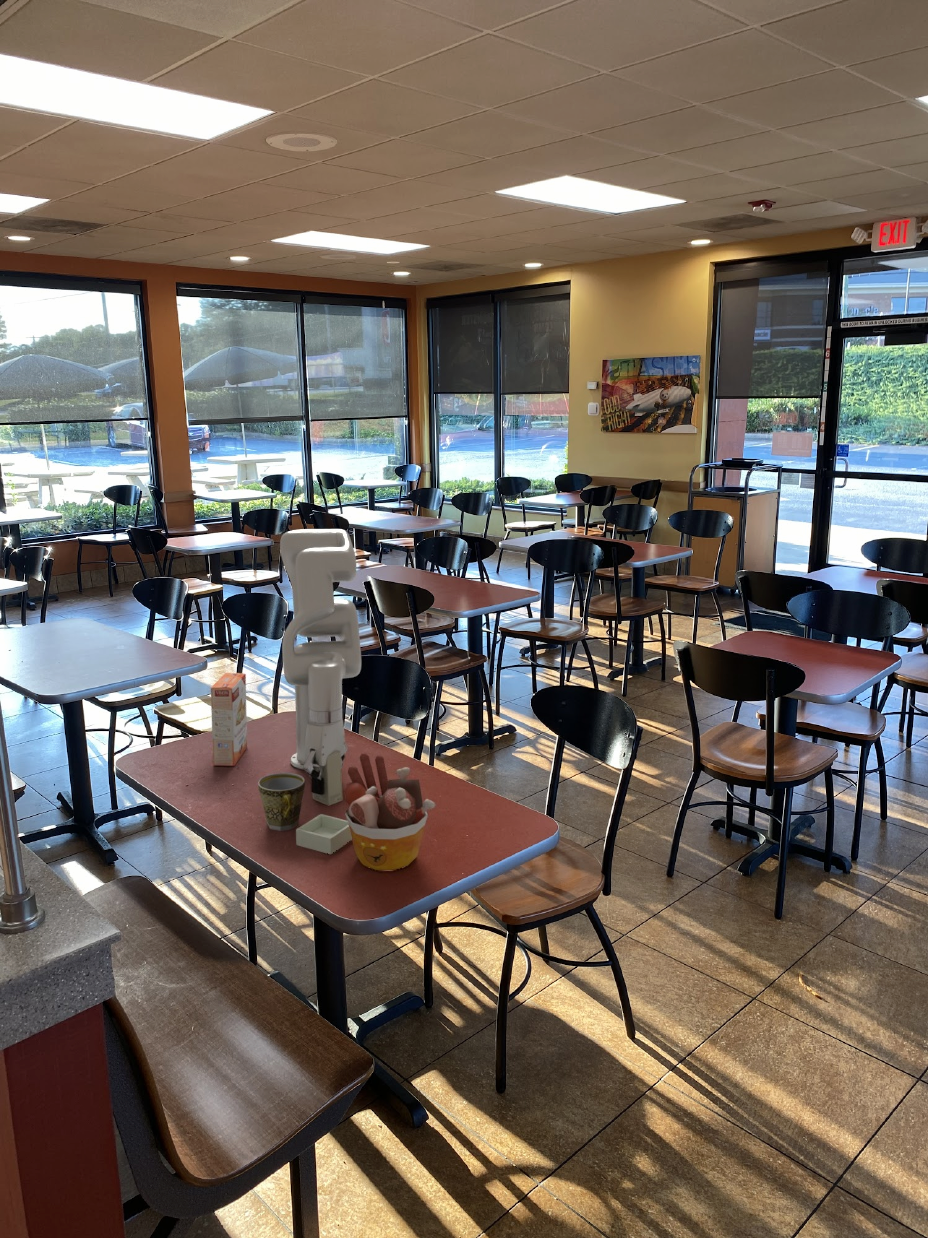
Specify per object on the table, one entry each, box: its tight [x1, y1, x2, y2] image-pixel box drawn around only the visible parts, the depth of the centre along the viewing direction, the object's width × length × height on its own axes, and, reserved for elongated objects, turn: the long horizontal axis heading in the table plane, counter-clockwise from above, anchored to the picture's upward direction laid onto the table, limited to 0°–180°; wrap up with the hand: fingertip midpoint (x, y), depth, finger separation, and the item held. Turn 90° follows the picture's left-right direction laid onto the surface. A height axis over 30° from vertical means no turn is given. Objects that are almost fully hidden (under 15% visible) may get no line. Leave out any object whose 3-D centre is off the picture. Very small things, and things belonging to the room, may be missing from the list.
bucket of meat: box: [343, 752, 436, 871], centre depth 185 cm, size 20×16×20 cm
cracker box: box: [210, 672, 248, 767], centre depth 238 cm, size 14×6×21 cm, turn 179°
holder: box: [295, 813, 353, 855], centre depth 194 cm, size 9×9×4 cm
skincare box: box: [312, 751, 343, 806], centre depth 214 cm, size 6×4×12 cm
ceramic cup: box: [257, 772, 306, 832], centre depth 199 cm, size 13×10×10 cm
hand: (326, 787), depth 214 cm, fingers open, 6 cm apart
